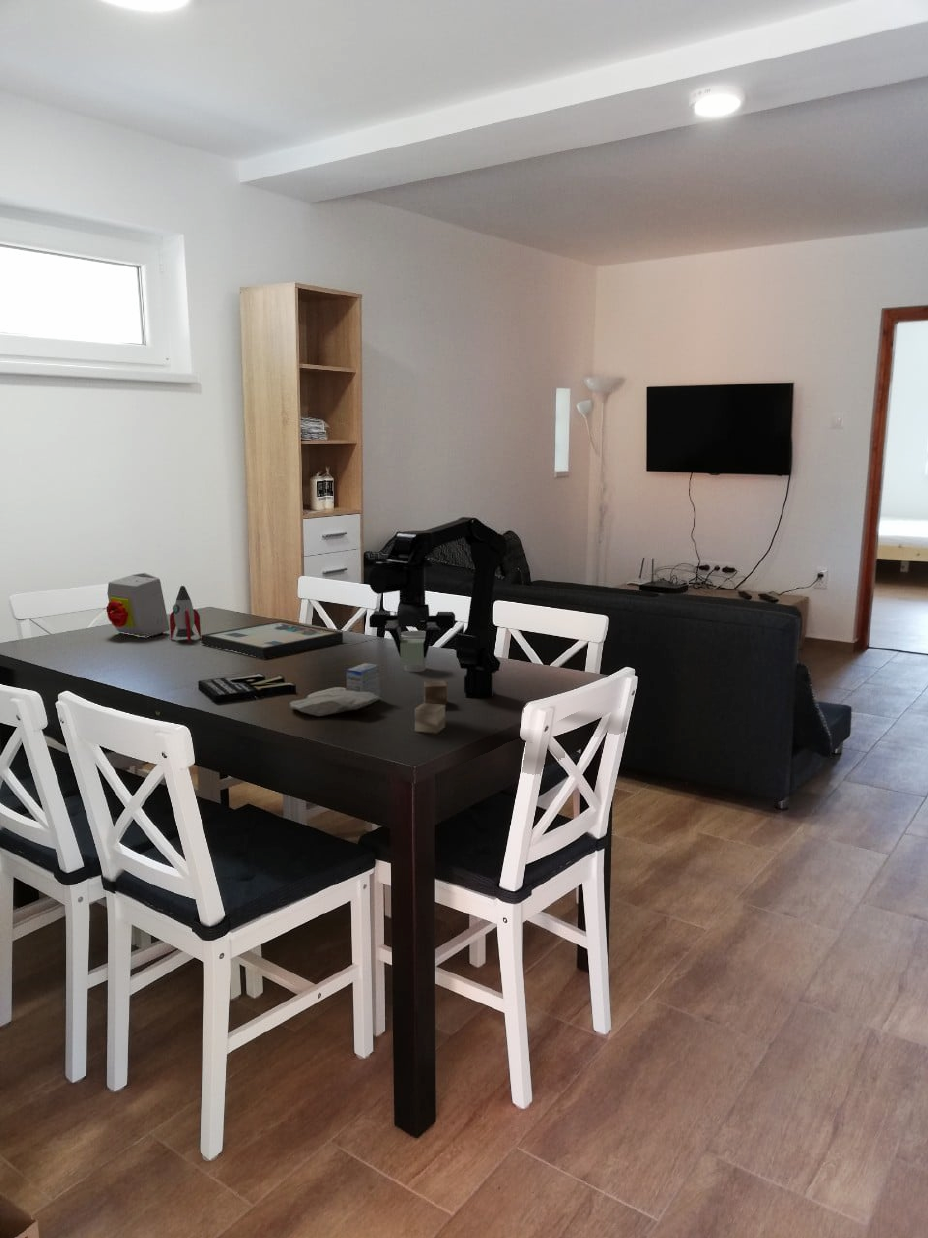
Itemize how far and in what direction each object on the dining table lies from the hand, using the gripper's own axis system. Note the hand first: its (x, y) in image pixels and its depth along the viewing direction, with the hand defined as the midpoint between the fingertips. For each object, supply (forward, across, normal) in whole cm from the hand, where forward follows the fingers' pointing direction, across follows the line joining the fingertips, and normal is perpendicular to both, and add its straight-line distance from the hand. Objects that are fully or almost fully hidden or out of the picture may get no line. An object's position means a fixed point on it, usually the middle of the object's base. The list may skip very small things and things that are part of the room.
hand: (413, 657), depth 211 cm
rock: (+14, -20, 0) cm, 24 cm away
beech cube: (+13, +5, -12) cm, 18 cm away
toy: (+13, -81, +77) cm, 112 cm away
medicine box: (+13, -13, +8) cm, 20 cm away
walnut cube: (+13, +4, +8) cm, 16 cm away
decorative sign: (+14, -44, +17) cm, 49 cm away
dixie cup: (+13, -5, +42) cm, 44 cm away
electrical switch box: (+13, -101, +83) cm, 131 cm away
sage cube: (+1, 0, 0) cm, 1 cm away
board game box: (+14, -53, +73) cm, 91 cm away
